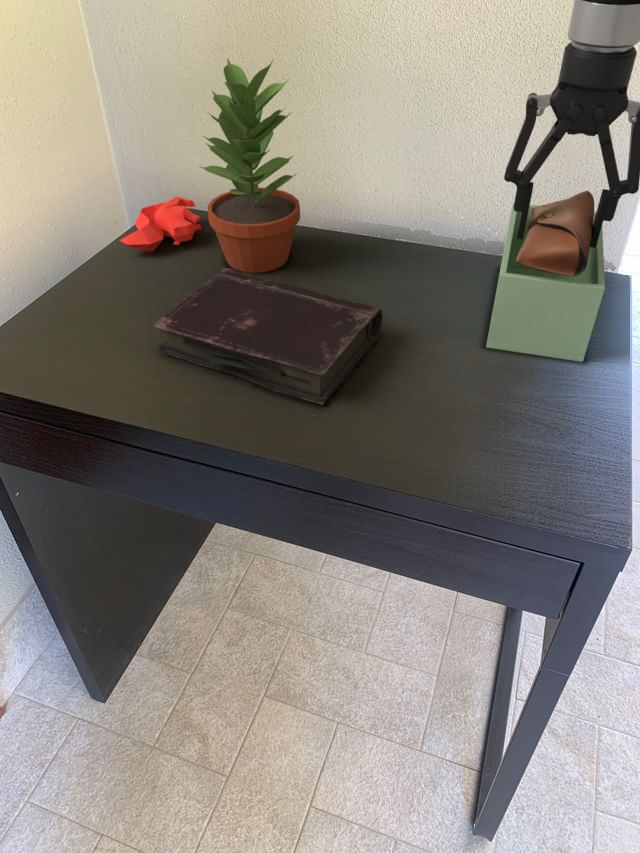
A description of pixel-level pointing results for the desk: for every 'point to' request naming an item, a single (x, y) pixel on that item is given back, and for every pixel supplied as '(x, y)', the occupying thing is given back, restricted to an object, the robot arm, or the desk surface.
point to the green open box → (545, 303)
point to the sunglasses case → (559, 236)
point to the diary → (271, 333)
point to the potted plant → (250, 178)
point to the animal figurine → (163, 224)
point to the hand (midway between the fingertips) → (556, 238)
